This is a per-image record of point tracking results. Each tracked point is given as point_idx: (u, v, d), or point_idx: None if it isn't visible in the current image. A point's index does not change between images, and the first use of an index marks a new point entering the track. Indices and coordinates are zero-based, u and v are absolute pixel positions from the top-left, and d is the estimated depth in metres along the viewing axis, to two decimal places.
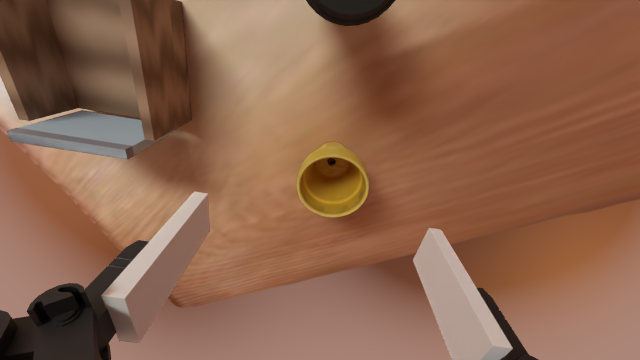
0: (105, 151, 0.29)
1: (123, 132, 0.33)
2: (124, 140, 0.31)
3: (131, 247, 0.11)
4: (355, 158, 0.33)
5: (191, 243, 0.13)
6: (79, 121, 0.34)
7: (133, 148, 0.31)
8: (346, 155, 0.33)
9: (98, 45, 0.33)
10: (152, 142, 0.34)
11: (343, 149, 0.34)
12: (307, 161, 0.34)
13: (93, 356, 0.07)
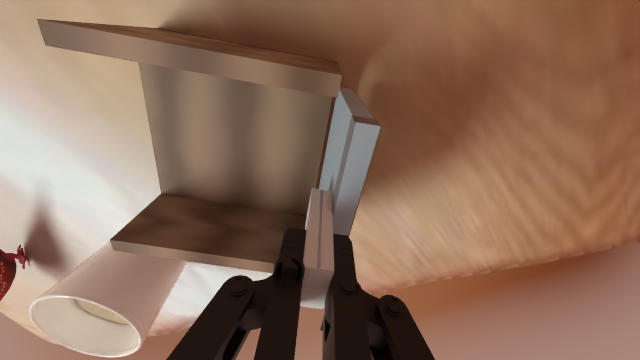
0: (356, 168, 0.13)
1: (335, 150, 0.17)
2: (342, 139, 0.15)
3: (287, 232, 0.13)
4: None
5: None
6: None
7: (358, 115, 0.13)
8: None
9: (224, 159, 0.24)
10: (358, 102, 0.16)
11: None
12: None
13: (297, 324, 0.09)
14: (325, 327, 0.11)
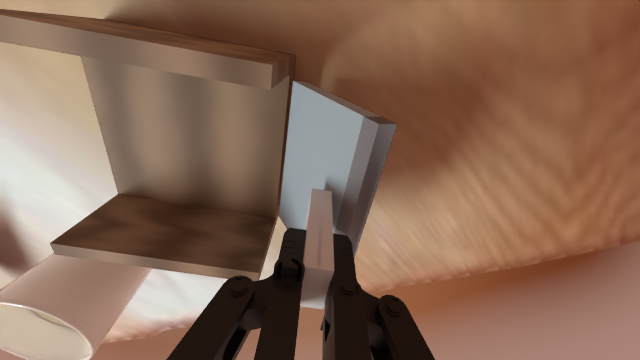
0: (375, 166, 0.14)
1: (321, 149, 0.17)
2: (343, 139, 0.15)
3: (287, 232, 0.13)
4: None
5: None
6: (299, 216, 0.21)
7: (367, 116, 0.13)
8: None
9: (180, 157, 0.23)
10: (339, 98, 0.16)
11: None
12: None
13: (297, 324, 0.09)
14: (325, 327, 0.11)
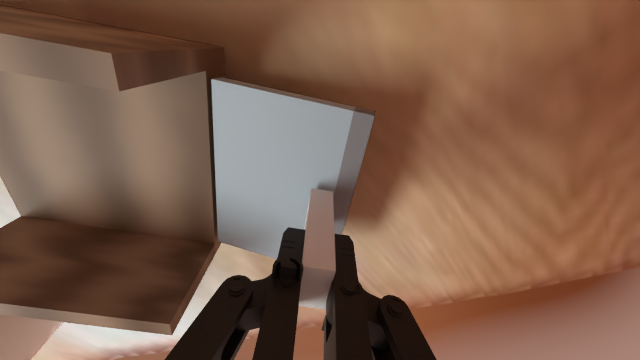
0: None
1: (291, 151, 0.16)
2: (326, 136, 0.15)
3: (286, 232, 0.13)
4: None
5: None
6: (264, 227, 0.19)
7: (352, 109, 0.14)
8: None
9: (87, 174, 0.18)
10: (295, 94, 0.15)
11: None
12: None
13: (295, 324, 0.09)
14: (326, 327, 0.11)
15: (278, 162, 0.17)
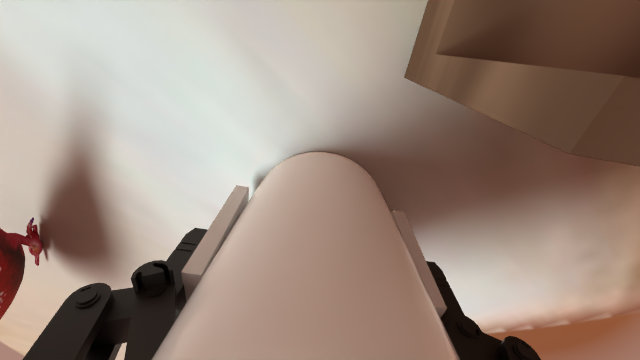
0: None
1: None
2: None
3: (190, 233, 0.12)
4: None
5: None
6: None
7: None
8: None
9: None
10: None
11: None
12: None
13: None
14: None
15: None
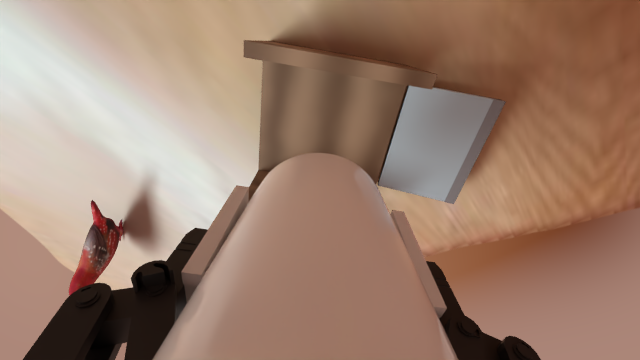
0: None
1: (449, 123, 0.28)
2: (473, 113, 0.27)
3: (190, 233, 0.12)
4: None
5: None
6: (415, 173, 0.32)
7: (491, 98, 0.27)
8: None
9: (314, 140, 0.31)
10: (455, 91, 0.28)
11: None
12: None
13: None
14: None
15: (438, 130, 0.29)
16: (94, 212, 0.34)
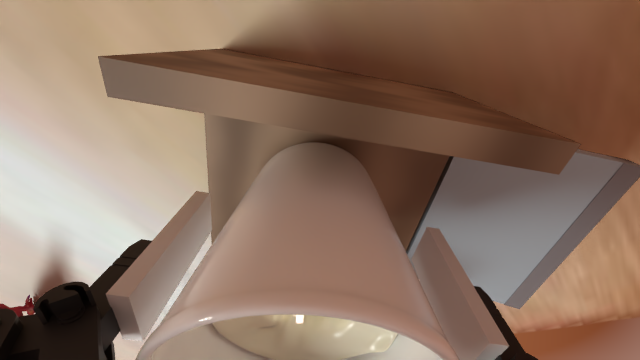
0: None
1: (530, 196, 0.16)
2: (579, 183, 0.15)
3: (134, 246, 0.11)
4: None
5: (193, 242, 0.13)
6: (461, 262, 0.20)
7: (616, 160, 0.15)
8: None
9: None
10: None
11: None
12: None
13: (97, 354, 0.07)
14: None
15: (509, 205, 0.17)
16: None
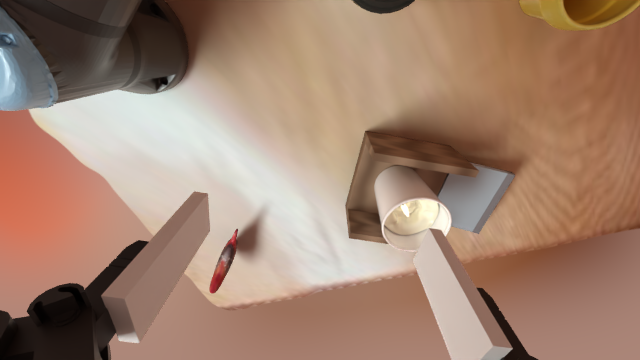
0: None
1: (478, 185, 0.45)
2: (494, 180, 0.44)
3: (131, 247, 0.11)
4: None
5: (191, 243, 0.13)
6: (454, 213, 0.48)
7: (506, 172, 0.43)
8: None
9: None
10: (483, 165, 0.44)
11: None
12: (556, 13, 0.28)
13: (93, 356, 0.07)
14: None
15: (471, 188, 0.45)
16: (235, 236, 0.50)
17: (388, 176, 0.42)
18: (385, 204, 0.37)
